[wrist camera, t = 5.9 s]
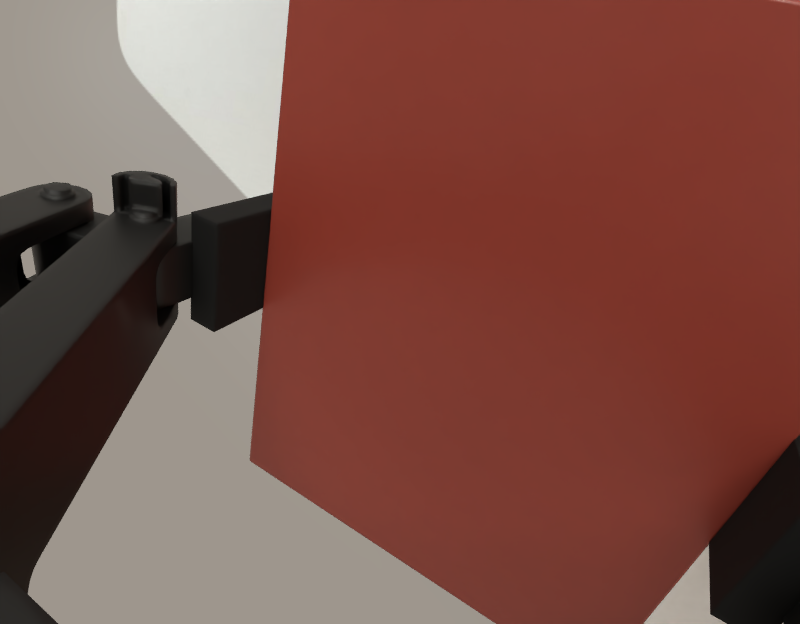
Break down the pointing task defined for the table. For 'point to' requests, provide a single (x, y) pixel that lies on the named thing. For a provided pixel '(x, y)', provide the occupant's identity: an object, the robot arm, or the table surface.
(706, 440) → the thin red book
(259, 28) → the table surface
